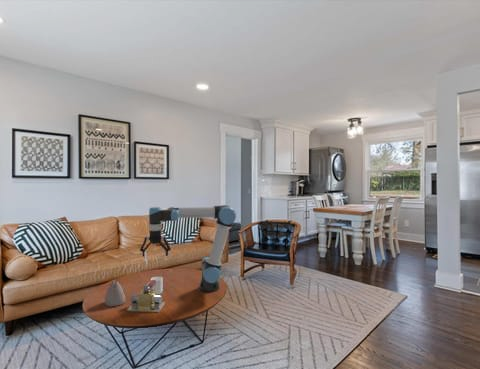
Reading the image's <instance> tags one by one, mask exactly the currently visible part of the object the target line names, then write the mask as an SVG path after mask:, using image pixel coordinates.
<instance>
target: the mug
mask: <svg viewBox="0 0 480 369" xmlns="http://www.w3.org/2000/svg"><path fill="white" fill-rule="evenodd" d="M152 280H156V284H155V285H154V286H153V287H152V288H151V289H155V294H156V295H162V294H163V286H164V285H163V283H164V281H163V277H162V276H154V277H151V278H150V281H149V282H147V284H146V285H145V286H148V284H149V283H150V282H151V281H152Z"/></svg>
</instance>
